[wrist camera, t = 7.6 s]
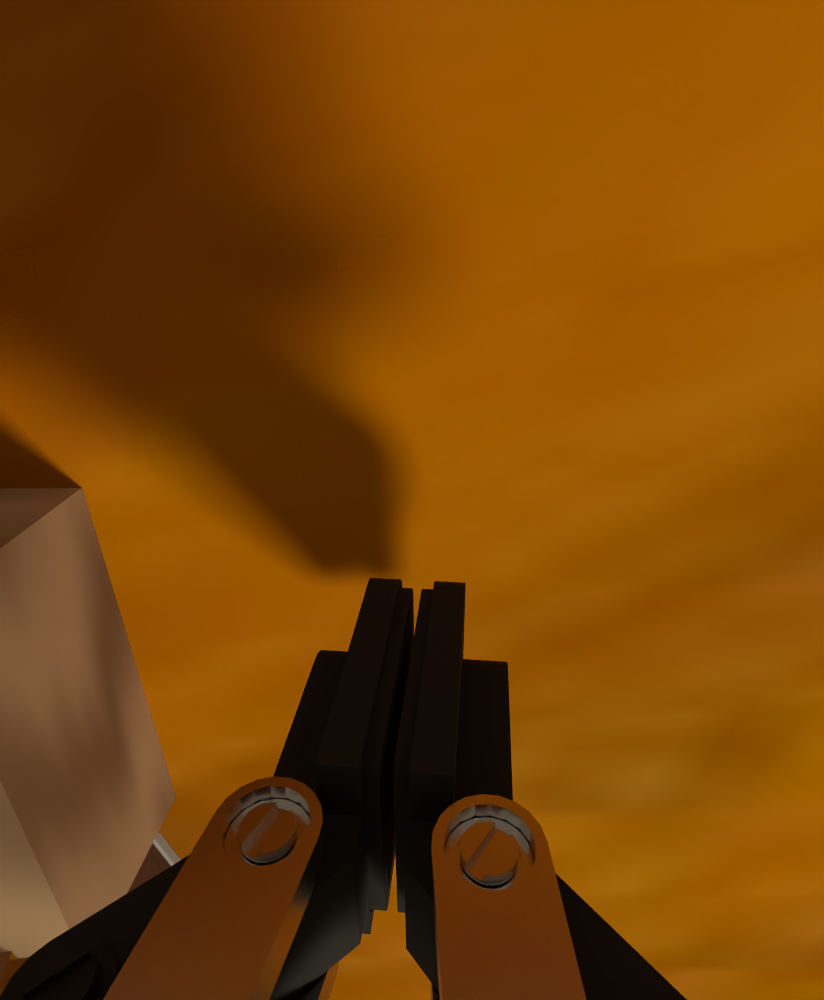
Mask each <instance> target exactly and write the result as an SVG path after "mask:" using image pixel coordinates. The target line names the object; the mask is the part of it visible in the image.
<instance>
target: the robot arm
mask: <svg viewBox="0 0 824 1000" xmlns="http://www.w3.org/2000/svg"><path fill="white" fill-rule="evenodd" d="M464 615H465V583H458V582H438V581H435V582H434V588H433V589H422V591H421V597H420V603H419V610H418V616H417V622H416V628H415V634H414V612H413V589H412V588H402V581H401V580H400V579H381V578H370V579H369V582H368V585H367V588H366V592H365V595H364V599H363V602H362V605H361V609H360V612H359V616H358V619H357V622H356V626H355V629H354V633H353V636H352V639H351V643H350V646H349V650H348V652H343V651H327V650H321V651H320V652H319V653H318V654H317V656H316V659H315V661H314V664H313V667H312V670H311V672H310V675H309V678H308V681H307V684H306V686H305V689H304V692H303V695H302V698H301V700H300V703H299V706H298V709H297V712H296V714H295V717H294V720H293V723H292V726H291V728H290V731H289V734H288V737H287V740H286V742H285V745H284V748H283V751H282V754H281V757H280V759H279V762H278V765H277V768H276V771H275V773H274V776H273V777H269V778H263V779H258V780H255V781H253V782H251V783H248V784H246V785H244V786H242V787H240V788H239V789H238V790H236V791H235V792H234V793H232V794H231V795H230V796H228V797H227V798H226V799H225V801H224V802H223V803H222V804H221V806H220V807H219V808H218V809H217V811H216V812H215V814H214V815H213V817H212V819H211V820H210V822H209V824H208V825H207V827H206V829H205V830H204V832H203V834H202V835H201V837H200V839H199V840H198V842H197V844H196V845H195V847H194V849H193V850H192V852H191V854H190V855H188V856H187V857H185V858H183V859H182V860H180V861H179V862H177V863H175V864H174V865H172V866H171V867H169V868H167V869H166V870H164V871H162V872H161V873H159V874H158V875H156V876H154V877H153V878H151V879H150V880H148V881H146V882H145V883H143V884H141V885H140V886H138V887H137V888H135V889H133V890H132V891H130V892H129V893H127V894H125V895H124V896H122V897H120V898H119V899H117V900H116V901H114V902H112V903H111V904H109V905H108V906H106V907H104V908H103V909H101V910H99V911H98V912H96V913H95V914H93V915H91V916H90V917H88V918H87V919H85V920H83V921H82V922H80V923H78V924H77V925H75V926H74V927H72V928H70V929H69V930H67V931H66V932H64V933H62V934H61V935H59V936H57V937H56V938H54V939H53V940H51V941H49V942H48V943H47V944H45V945H44V946H43V947H42V948H40V949H39V950H38V951H36V952H35V953H34V954H32V955H31V956H30V957H25V958H18V959H16V958H15V956H14V954H13V952H12V951H8V952H1V953H0V1000H329V997H330V994H331V991H332V988H333V985H334V982H335V979H336V974H337V969H338V963H339V960H341V959H342V958H343V957H344V956H346V955H347V954H348V953H349V952H350V951H352V950H353V949H354V948H355V947H356V946H358V945H359V944H360V941H361V935H362V933H365V934H370V932H371V926H372V920H373V913H374V910H384V911H386V910H387V907H388V902H389V895H390V888H391V881H392V874H393V866H394V859H395V852H396V877H397V905H398V912H403V913H405V917H406V949H407V950H408V952H409V953H410V954H411V956H412V957H413V958H414V960H415V961H416V962H417V964H418V965H419V966H420V968H421V969H422V970H423V972H424V973H425V974H426V976H427V977H428V978H429V980H430V981H431V1000H686V999H685V998H684V997H683V996H682V995H681V994H680V993H679V992H678V991H677V990H676V989H675V988H674V987H673V986H672V985H671V984H670V983H669V982H668V981H667V980H666V979H665V978H664V977H663V976H662V975H660V974H659V973H658V972H657V971H656V970H655V969H654V968H653V967H652V966H651V965H650V964H649V963H648V962H647V961H646V960H645V959H644V958H643V957H642V956H641V955H640V954H639V953H638V952H637V951H636V950H635V949H634V948H632V947H631V946H630V945H629V944H628V943H627V942H626V941H625V940H624V939H623V938H622V937H621V936H620V935H619V934H618V933H617V932H616V931H615V930H614V929H613V928H612V927H611V926H610V925H609V924H608V923H607V922H605V921H604V920H603V919H602V918H601V917H600V916H599V915H598V914H597V913H596V912H595V911H594V910H593V909H592V908H591V907H590V906H589V905H588V904H587V903H586V902H585V901H584V900H583V899H582V898H581V897H580V896H579V895H577V894H576V893H575V892H574V891H573V890H572V889H571V888H570V887H569V886H568V885H567V884H566V883H565V882H564V881H563V880H562V879H561V878H560V877H559V876H558V875H557V874H556V873H555V870H554V866H553V862H552V858H551V854H550V850H549V846H548V842H547V840H546V837H545V835H544V832H543V830H542V828H541V825H540V824H539V823H538V822H537V821H536V819H535V818H534V817H533V816H532V814H531V813H530V812H529V811H527V810H526V809H525V808H523V807H522V806H520V805H519V804H517V803H516V802H514V801H513V795H512V767H511V740H510V713H509V686H508V665H507V662H499V661H483V660H468V659H463V645H464Z"/></svg>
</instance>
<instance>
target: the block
mask: <svg viewBox="0 0 824 1000" xmlns="http://www.w3.org/2000/svg"><path fill="white" fill-rule="evenodd" d="M175 798H176V795H175V792H174V789H173V785H172V782H171V779H170V775H169V772H168V769H167V766H166V762H165V759H164V756H163V752H162V749H161V746H160V743H159V739H158V736H157V733H156V729H155V726H154V723H153V720H152V716H151V713H150V710H149V706H148V703H147V700H146V697H145V693H144V690H143V687H142V683H141V680H140V677H139V674H138V670H137V667H136V664H135V660H134V657H133V654H132V651H131V647H130V644H129V641H128V637H127V634H126V631H125V628H124V624H123V621H122V618H121V614H120V611H119V608H118V605H117V601H116V598H115V595H114V591H113V588H112V585H111V582H110V578H109V575H108V572H107V568H106V565H105V562H104V559H103V555H102V552H101V549H100V545H99V542H98V539H97V536H96V532H95V529H94V526H93V522H92V519H91V516H90V513H89V509H88V506H87V503H86V499H85V496H84V493H83V490H82V488H0V953H1V952H8V951H12V952H13V954H14V956H15V958H16V959H18V958H25V957H30V956H31V955H32V954H34V953H35V952H36V951H38V950H39V949H40V948H42V947H43V946H44V945H45V944H47V943H48V942H49V941H51V940H53V939H54V938H56V937H57V936H59V935H61V934H62V933H64V932H66V931H67V930H69V929H70V928H72V927H74V926H75V925H77V924H78V923H80V922H82V921H83V920H85V919H87V918H88V917H90V916H91V915H93V914H95V913H96V912H98V911H99V910H101V909H103V908H104V907H106V906H108V905H109V904H111V903H112V902H114V901H116V900H117V899H119V898H120V897H122V896H124V895H125V894H127V892H128V891H129V889H130V887H131V885H132V883H133V881H134V879H135V877H136V875H137V873H138V871H139V869H140V867H141V865H142V863H143V861H144V859H145V857H146V855H147V853H148V851H149V849H150V847H151V845H152V843H153V841H154V839H155V837H156V835H157V833H158V831H159V829H160V827H161V825H162V823H163V822H164V820H165V818H166V816H167V814H168V812H169V810H170V808H171V806H172V804H173V802H174V800H175Z"/></svg>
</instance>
